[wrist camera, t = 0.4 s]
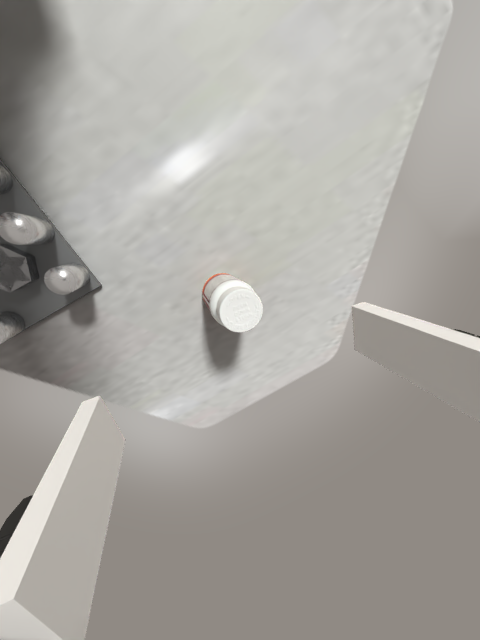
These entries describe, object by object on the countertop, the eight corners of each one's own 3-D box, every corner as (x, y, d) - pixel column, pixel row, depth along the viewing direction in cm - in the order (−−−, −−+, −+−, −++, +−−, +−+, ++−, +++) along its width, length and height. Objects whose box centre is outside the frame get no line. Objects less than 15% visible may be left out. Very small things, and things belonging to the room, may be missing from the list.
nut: (-24, 261, 28) (-38, 262, 26) (18, 238, 28) (8, 238, 26) (9, 295, 29) (-1, 298, 28) (49, 272, 30) (41, 274, 28)
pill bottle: (239, 310, 39) (265, 335, 29) (201, 312, 37) (214, 339, 27) (241, 272, 37) (269, 284, 27) (201, 272, 36) (215, 284, 25)
